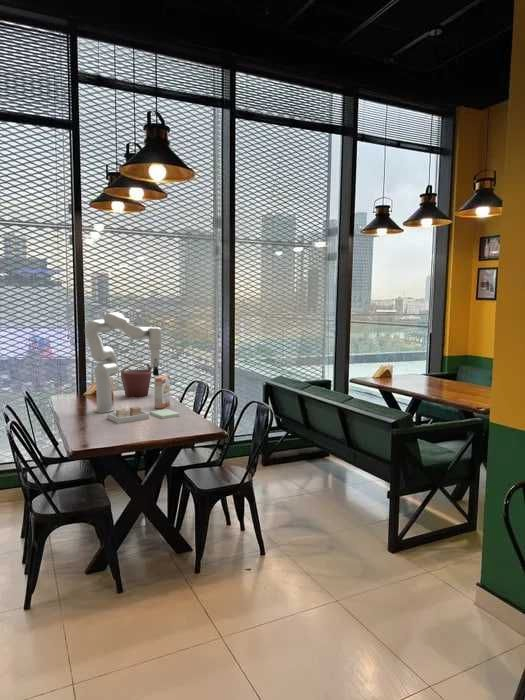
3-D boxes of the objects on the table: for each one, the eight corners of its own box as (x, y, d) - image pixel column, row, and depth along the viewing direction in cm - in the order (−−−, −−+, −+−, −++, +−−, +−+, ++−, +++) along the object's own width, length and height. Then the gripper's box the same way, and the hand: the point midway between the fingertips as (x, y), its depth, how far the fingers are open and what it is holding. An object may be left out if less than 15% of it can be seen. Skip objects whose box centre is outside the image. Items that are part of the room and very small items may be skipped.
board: (150, 414, 317) (150, 411, 317) (167, 411, 325) (167, 408, 324) (162, 419, 305) (162, 416, 305) (179, 416, 312) (179, 413, 312)
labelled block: (129, 417, 308) (129, 407, 307) (137, 415, 311) (137, 406, 311) (133, 418, 304) (133, 409, 303) (141, 417, 307) (140, 407, 307)
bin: (107, 419, 305) (107, 413, 305) (138, 414, 317) (138, 409, 317) (118, 424, 293) (118, 418, 292) (149, 419, 305) (149, 413, 305)
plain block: (115, 419, 302) (115, 409, 302) (123, 418, 306) (123, 408, 305) (119, 420, 299) (119, 411, 298) (127, 419, 302) (126, 409, 301)
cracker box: (162, 409, 333) (162, 378, 331) (154, 408, 334) (153, 377, 332) (170, 404, 346) (170, 375, 344) (162, 404, 348) (162, 374, 345)
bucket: (151, 392, 393) (150, 360, 390) (156, 397, 373) (156, 364, 370) (119, 394, 383) (118, 362, 380) (123, 399, 363) (122, 365, 360)
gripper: (149, 345, 317) (149, 372, 319) (149, 348, 300) (149, 376, 302) (161, 345, 319) (161, 372, 321) (161, 348, 302) (162, 376, 304)
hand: (155, 374), depth 311 cm, fingers open, 9 cm apart
